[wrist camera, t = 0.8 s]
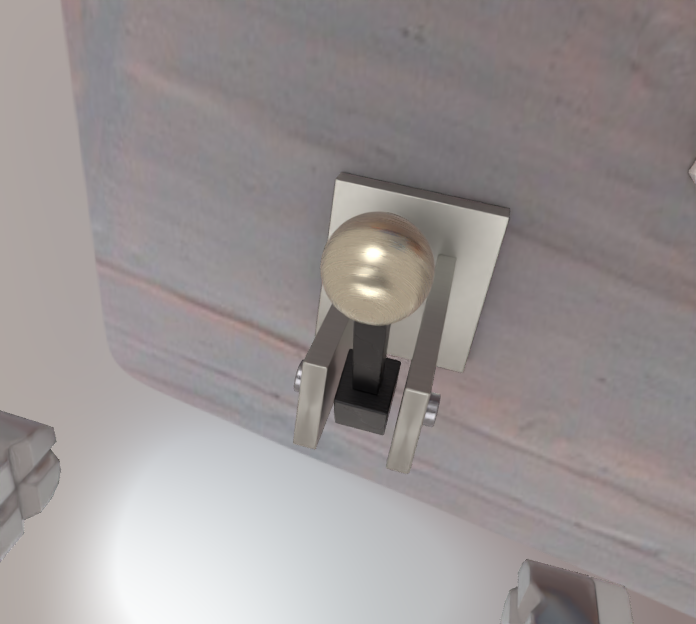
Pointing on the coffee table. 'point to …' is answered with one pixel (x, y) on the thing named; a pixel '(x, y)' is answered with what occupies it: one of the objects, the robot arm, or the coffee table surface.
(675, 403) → the coffee table surface
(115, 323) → the coffee table surface
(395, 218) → the lever
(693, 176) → the figurine
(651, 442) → the coffee table surface
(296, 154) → the coffee table surface
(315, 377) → the bracket
